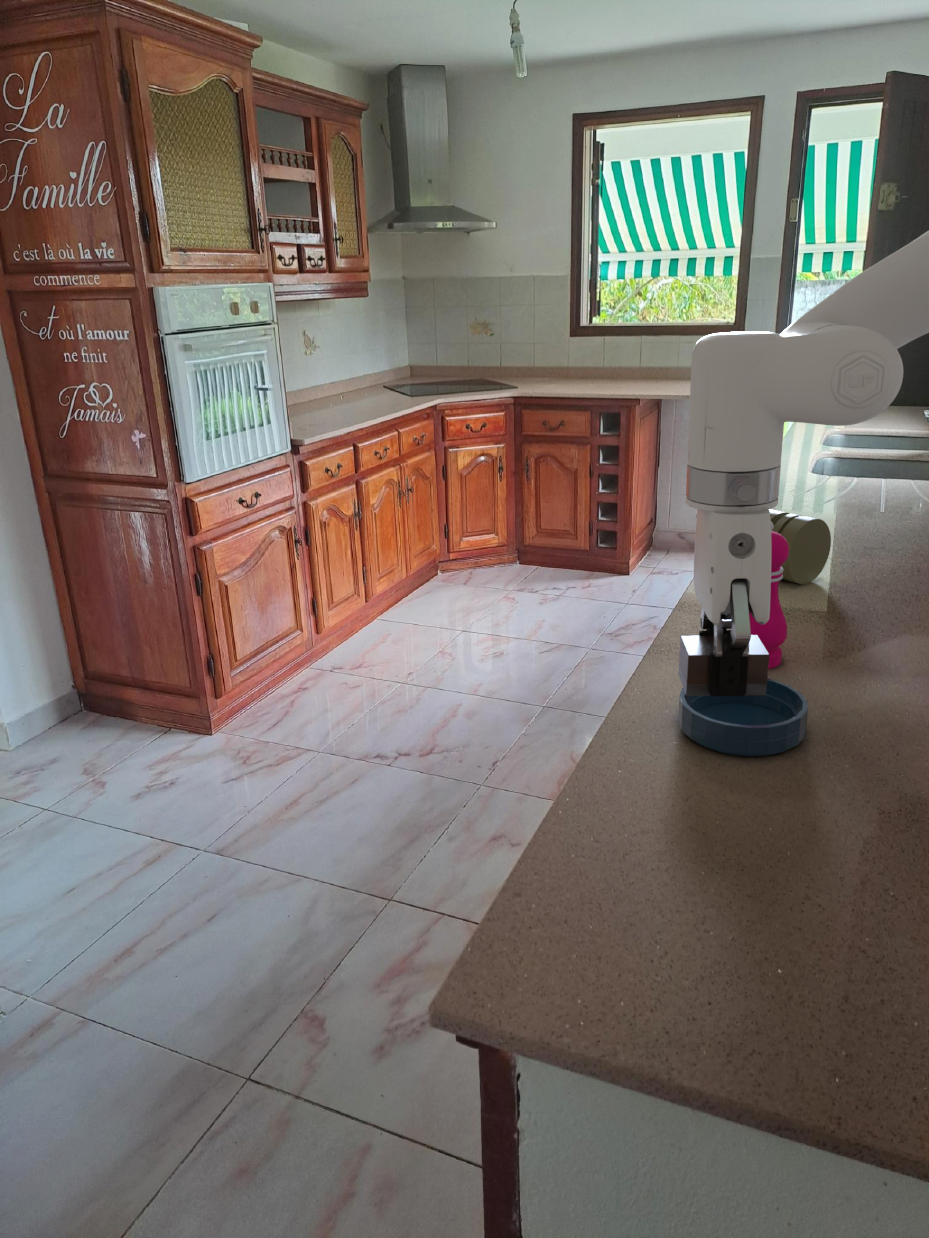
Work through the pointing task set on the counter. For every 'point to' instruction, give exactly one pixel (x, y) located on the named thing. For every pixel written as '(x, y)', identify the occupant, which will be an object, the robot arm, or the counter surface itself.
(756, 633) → the pepper mill
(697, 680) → the shiny metal block
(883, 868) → the counter surface
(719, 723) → the bowl
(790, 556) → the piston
